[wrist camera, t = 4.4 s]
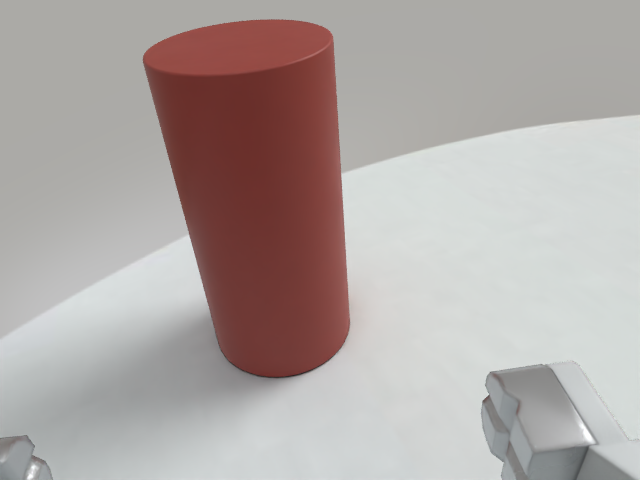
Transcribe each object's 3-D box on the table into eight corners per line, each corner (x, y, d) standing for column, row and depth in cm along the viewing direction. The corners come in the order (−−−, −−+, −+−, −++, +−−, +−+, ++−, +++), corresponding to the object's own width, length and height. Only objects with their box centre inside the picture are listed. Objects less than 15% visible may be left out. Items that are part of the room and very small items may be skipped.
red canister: (222, 392, 17) (136, 87, 11) (214, 296, 21) (146, 32, 15) (366, 359, 18) (355, 55, 12) (332, 272, 21) (311, 11, 16)
